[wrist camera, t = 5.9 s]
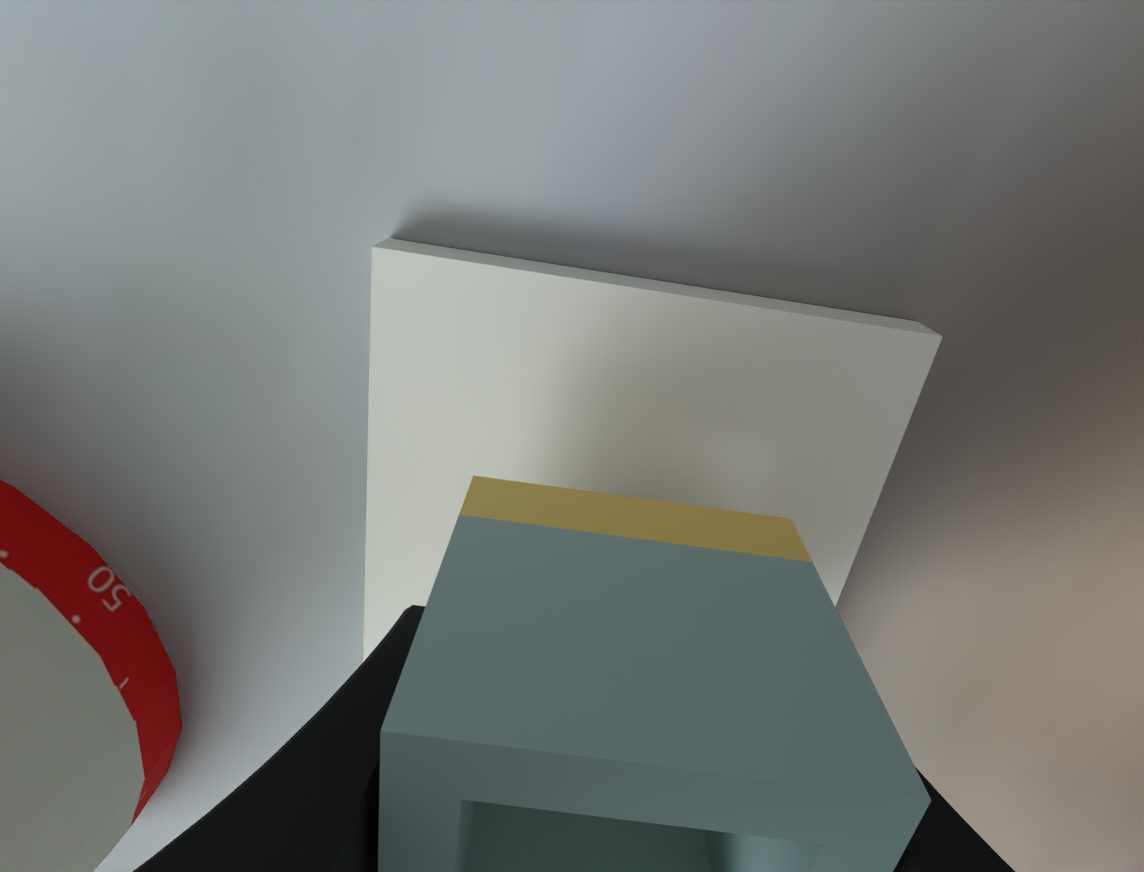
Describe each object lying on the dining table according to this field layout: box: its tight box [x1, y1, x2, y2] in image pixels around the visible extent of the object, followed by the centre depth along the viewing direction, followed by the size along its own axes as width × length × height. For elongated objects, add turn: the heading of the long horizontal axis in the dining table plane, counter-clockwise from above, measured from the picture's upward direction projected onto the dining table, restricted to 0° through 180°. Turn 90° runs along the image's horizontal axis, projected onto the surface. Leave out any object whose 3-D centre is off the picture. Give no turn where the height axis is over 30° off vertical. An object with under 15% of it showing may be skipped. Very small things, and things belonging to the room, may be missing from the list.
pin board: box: [363, 238, 943, 662], centre depth 13 cm, size 10×11×4 cm
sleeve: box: [378, 475, 931, 872], centre depth 10 cm, size 5×5×5 cm
